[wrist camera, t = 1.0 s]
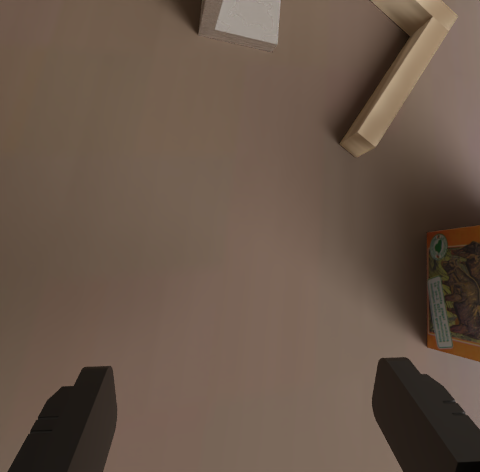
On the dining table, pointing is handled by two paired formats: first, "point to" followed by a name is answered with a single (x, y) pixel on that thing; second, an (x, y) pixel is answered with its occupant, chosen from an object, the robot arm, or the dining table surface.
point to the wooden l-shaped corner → (400, 67)
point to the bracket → (241, 22)
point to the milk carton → (454, 291)
